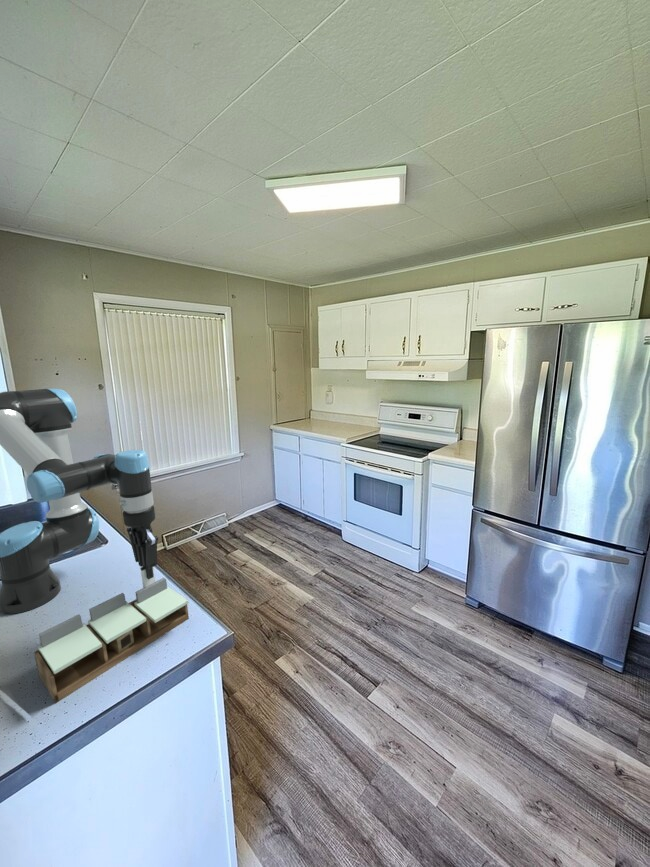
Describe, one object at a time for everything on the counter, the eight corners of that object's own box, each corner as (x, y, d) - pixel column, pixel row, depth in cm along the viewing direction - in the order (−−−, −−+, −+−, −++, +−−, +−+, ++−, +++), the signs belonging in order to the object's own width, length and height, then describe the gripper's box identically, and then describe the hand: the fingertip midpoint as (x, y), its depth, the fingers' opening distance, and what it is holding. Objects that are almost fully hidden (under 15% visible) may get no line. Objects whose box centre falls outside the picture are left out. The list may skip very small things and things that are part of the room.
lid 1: (38, 649, 81) (35, 635, 80) (83, 625, 88) (81, 612, 88) (54, 674, 74) (51, 658, 74) (102, 646, 82) (99, 632, 81)
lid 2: (88, 623, 89) (86, 610, 88) (126, 603, 96) (124, 591, 95) (107, 643, 82) (104, 629, 82) (146, 620, 89) (144, 607, 89)
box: (39, 678, 82) (34, 652, 81) (167, 604, 106) (164, 584, 105) (56, 706, 75) (50, 678, 74) (189, 621, 99) (186, 599, 98)
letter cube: (109, 648, 89) (107, 634, 89) (124, 637, 93) (122, 623, 92) (119, 653, 88) (117, 639, 87) (134, 642, 91) (132, 628, 90)
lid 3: (134, 605, 95) (132, 592, 95) (167, 588, 103) (165, 576, 102) (155, 622, 89) (153, 609, 88) (188, 603, 96) (187, 590, 95)
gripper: (112, 507, 95) (125, 585, 100) (135, 518, 87) (147, 603, 92) (141, 498, 101) (151, 573, 106) (164, 508, 93) (174, 588, 98)
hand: (149, 587), depth 99 cm, fingers closed
